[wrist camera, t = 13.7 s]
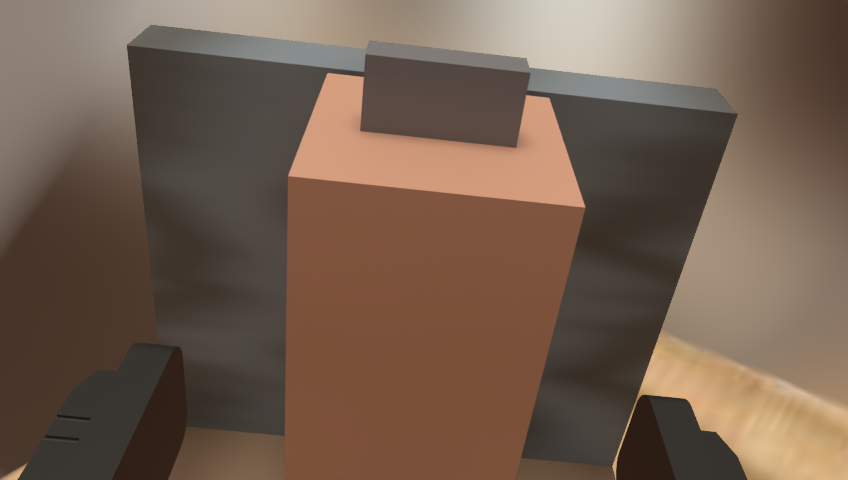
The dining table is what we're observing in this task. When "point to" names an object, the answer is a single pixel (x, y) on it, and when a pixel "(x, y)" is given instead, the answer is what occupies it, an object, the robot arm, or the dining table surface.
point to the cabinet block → (423, 267)
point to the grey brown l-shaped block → (267, 238)
